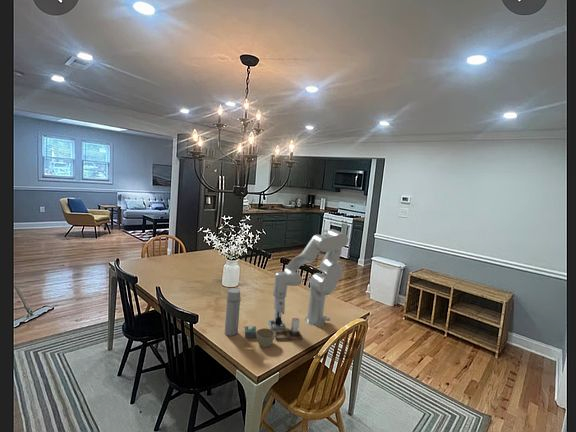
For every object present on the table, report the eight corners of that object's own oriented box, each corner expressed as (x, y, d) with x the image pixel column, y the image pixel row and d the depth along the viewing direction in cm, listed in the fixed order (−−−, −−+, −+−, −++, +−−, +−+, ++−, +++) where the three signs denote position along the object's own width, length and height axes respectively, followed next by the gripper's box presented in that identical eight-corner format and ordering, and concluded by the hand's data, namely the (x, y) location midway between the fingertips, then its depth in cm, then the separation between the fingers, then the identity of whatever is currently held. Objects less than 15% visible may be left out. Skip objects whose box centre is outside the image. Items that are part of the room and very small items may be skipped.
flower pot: (269, 353, 156) (270, 340, 155) (251, 347, 159) (252, 334, 158) (277, 343, 165) (278, 331, 164) (260, 338, 168) (261, 326, 167)
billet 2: (296, 334, 174) (298, 317, 172) (298, 338, 170) (300, 321, 169) (289, 334, 173) (291, 317, 172) (291, 338, 169) (292, 321, 168)
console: (255, 333, 173) (255, 326, 173) (256, 338, 168) (256, 332, 167) (244, 333, 172) (245, 326, 172) (245, 339, 166) (245, 332, 166)
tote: (282, 324, 186) (282, 320, 186) (284, 331, 178) (284, 327, 178) (268, 324, 184) (269, 320, 184) (270, 331, 177) (270, 327, 176)
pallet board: (298, 334, 176) (299, 330, 176) (301, 341, 169) (301, 337, 169) (273, 335, 173) (274, 330, 173) (275, 342, 166) (276, 337, 166)
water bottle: (221, 331, 172) (224, 289, 168) (234, 328, 176) (237, 286, 173) (229, 339, 164) (232, 295, 161) (242, 335, 169) (245, 293, 165)
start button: (253, 331, 171) (253, 326, 171) (253, 334, 169) (253, 329, 168) (247, 331, 171) (248, 326, 170) (247, 334, 168) (248, 329, 167)
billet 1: (279, 324, 184) (281, 309, 182) (280, 328, 180) (282, 312, 178) (273, 324, 183) (274, 309, 181) (274, 328, 179) (275, 312, 177)
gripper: (288, 299, 171) (286, 329, 174) (283, 287, 187) (281, 315, 190) (275, 299, 169) (273, 330, 172) (271, 287, 185) (269, 315, 188)
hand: (277, 322), depth 181 cm, fingers closed on billet 1, 4 cm apart
